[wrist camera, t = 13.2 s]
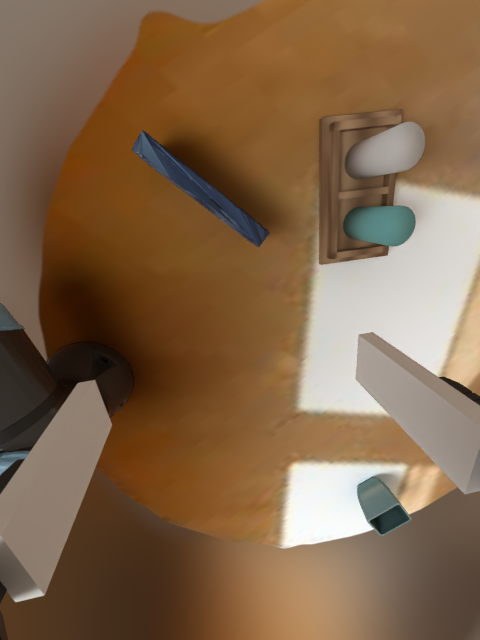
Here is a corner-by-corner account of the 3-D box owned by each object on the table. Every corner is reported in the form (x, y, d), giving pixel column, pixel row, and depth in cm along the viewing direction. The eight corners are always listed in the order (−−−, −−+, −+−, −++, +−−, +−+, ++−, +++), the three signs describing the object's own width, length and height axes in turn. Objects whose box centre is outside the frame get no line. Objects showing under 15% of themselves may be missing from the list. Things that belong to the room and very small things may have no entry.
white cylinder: (343, 181, 42) (382, 173, 33) (344, 143, 40) (386, 124, 31) (374, 177, 42) (421, 168, 33) (377, 139, 40) (428, 119, 31)
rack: (319, 263, 47) (325, 266, 45) (319, 119, 39) (326, 113, 37) (384, 254, 48) (393, 256, 46) (397, 111, 40) (409, 105, 38)
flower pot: (389, 485, 73) (413, 520, 65) (361, 501, 75) (381, 537, 66) (377, 468, 70) (400, 502, 62) (347, 485, 71) (366, 521, 63)
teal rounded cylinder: (342, 240, 45) (377, 248, 36) (343, 208, 43) (380, 208, 34) (370, 236, 46) (412, 243, 37) (373, 204, 44) (418, 203, 35)
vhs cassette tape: (257, 228, 44) (271, 233, 35) (246, 243, 45) (257, 251, 36) (158, 144, 38) (143, 124, 29) (146, 163, 39) (129, 149, 30)
